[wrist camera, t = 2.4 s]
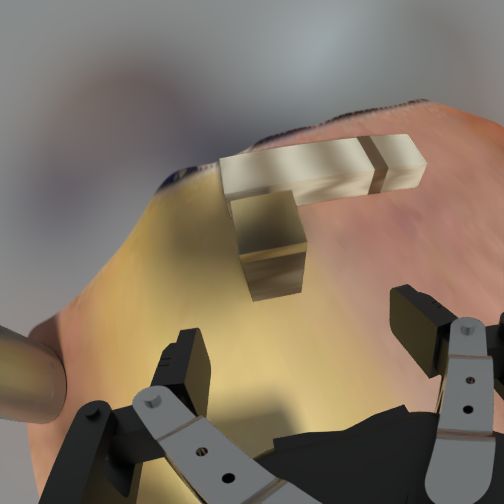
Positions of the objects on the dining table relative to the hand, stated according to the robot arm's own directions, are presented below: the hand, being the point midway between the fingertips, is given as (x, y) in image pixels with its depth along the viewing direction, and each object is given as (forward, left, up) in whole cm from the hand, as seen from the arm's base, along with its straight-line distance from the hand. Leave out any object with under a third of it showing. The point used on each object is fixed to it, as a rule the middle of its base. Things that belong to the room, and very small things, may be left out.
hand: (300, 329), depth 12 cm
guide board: (+8, +19, -14) cm, 25 cm away
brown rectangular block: (0, +9, -14) cm, 16 cm away
